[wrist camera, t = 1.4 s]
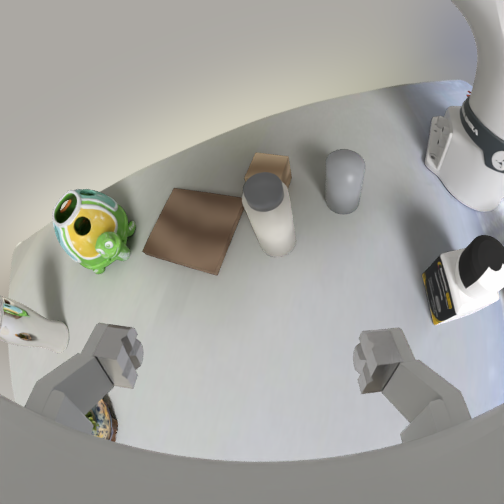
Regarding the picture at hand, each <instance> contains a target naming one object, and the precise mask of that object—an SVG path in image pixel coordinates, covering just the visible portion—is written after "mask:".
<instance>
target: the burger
mask: <svg viewBox="0 0 504 504" xmlns="http://www.w3.org/2000/svg"><path fill="white" fill-rule="evenodd" d="M85 416H86V418H87V419H88V420H89V421H90V422H92V424H93V429H92V433H91V435H93V436H96V437H100V438H103V439H106V440H110V441H113V442H115V440H116V438H115V434H117V432H116V430H117V427H118V422H117V420H115V419H114V418H112V416H111V413H110V410H109V408H108V405H107V404H106V403H105V401H104V400H103V399H101V400H100V401H99V402H98V403H97V404H96V405H95V406H94V407H93V408H92V409H91V410H90V411H89V412H88V413H87V414H86V415H85ZM117 431H118V430H117Z"/></svg>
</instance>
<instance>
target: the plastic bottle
mask: <svg viewBox="0 0 504 504" xmlns="http://www.w3.org/2000/svg"><path fill="white" fill-rule="evenodd" d="M242 203H243V206H244V208H245V211H246V213H247V215H248V218H249V220H250V222H251V225H252V227H253V229H254V232H255V234H256V236H257V239H258V241H259V244H260V246H261V248H262V250H263V251H264V252H265V253H266V254H267V255H269V256H272V257H283V256H285V255H287V254H289V253H290V252H291V251H292V250H293V249H294V247H295V245H296V234H295V227H294V221H293V215H292V209H291V203H290V197H289V191H288V188H287V186H286V185H285V184H284V183H283V182H282V181H281V180H280V178H279V177H278V176H277V175H275V174H273V173H269V172H261V173H257V174H255V175H253V176H251V177H250V178H249V179H248V180H247V181H246V182H245V184H244V187H243V194H242Z"/></svg>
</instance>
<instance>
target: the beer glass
mask: <svg viewBox="0 0 504 504" xmlns="http://www.w3.org/2000/svg"><path fill="white" fill-rule="evenodd" d="M0 340H2V341H4V342H7V343H10V344H13V345H17V346H24V347H41V348H46V349H48V350H50V351H52V352H54V353H57V354H60V353H62V352H64V351H65V349H66V348H67V345H68V341H69V332H68V328H67V326H66V324H65V323H63V322H61V321H55V320H49V319H47V318H45V317H43V316H41V315H40V314H38V313H37V312H35V311H34V310H32V309H31V308H29V307H27V306H26V305H24V304H22V303H20V302H17V301H15V300H12V299H9V298H6V297H3V296H0Z"/></svg>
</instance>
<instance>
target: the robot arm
mask: <svg viewBox="0 0 504 504" xmlns="http://www.w3.org/2000/svg"><path fill="white" fill-rule="evenodd" d="M451 1H452V2H453V3H454V4H455V5H456V7H457V8H458V9H459V10H460V12H461V13H462V14H463V16H464V17H465V19H466V20H467V22H468V24H469V26H470V28H471V30H472V32H473V35H474V38H475V42H476V46H477V54H478V62H477V69H476V75H475V80H474V85H473V88H472V92H470V91H468V92H469V93H471V95H467V97H468V98H467V99H466V100H465V101H464V102H463V105H462V106H450V107H448V108H447V110H446V113H445V116H444V117H442V116H436V117H433V118H432V120H431V126H430V133H429V140H428V146H427V152H426V158H425V165H426V166H427V168H428V169H430V170H431V171H432V172H433V173H434V174H436V175H437V176H438V177H439V178H440V180H441V181H442V182H443V184H444V185H445V187H446V188H447V189H448V191H449V192H450V193H451V194H452V195H453V196H454V197H455V198H456V199H457V200H459V201H460V202H461V203H463V204H464V205H466V206H468V207H469V208H472V209H474V210H477V211H481V212H489V211H493V210H494V209H496V208H497V207H498V206H499V204H500V202H501V200H502V199H503V198H504V0H451ZM137 335H138V334H137V332H136V330H135V328H132V327H125V326H118V325H112V324H105V323H98V324H97V325H96V326H95V328H94V330H93V331H92V333H91V335H90V337H89V339H88V341H87V343H86V345H85V346H84V348H83V350H82V352H81V354H80V353H77V354H76V355H74V356H73V357H71V358H70V359H69V360H67V361H66V362H64V363H63V364H61V365H60V366H58V367H57V368H56V369H54V370H53V371H51V372H50V373H48V374H47V375H45V376H44V377H43V378H41V379H40V380H38V381H37V382H36V384H35V386H34V388H33V390H32V392H31V394H30V396H29V398H28V400H27V403H26V405H25V407H23V406H21V405H19V404H17V403H15V402H13V401H11V400H10V399H8V398H6V397H4V396H2V395H1V394H0V504H504V403H503V404H501V405H499V406H497V407H495V408H493V409H491V410H489V411H487V412H485V413H483V414H481V415H479V416H477V417H474V418H472V419H471V416H470V413H469V411H468V408H467V406H466V403H465V401H464V398H463V396H462V394H461V391H459V390H458V389H457V388H455V387H454V386H453V385H451V384H450V383H449V382H448V381H446V380H445V379H444V378H442V377H441V376H440V375H438V374H437V373H436V372H434V371H433V370H432V369H430V368H429V367H428V366H427V365H425V364H424V363H423V362H421V361H420V360H415V357H414V355H413V353H412V351H411V348H410V346H409V344H408V342H407V340H406V338H405V335H404V333H403V331H402V329H400V328H390V329H379V330H369V331H363V332H362V333H361V334H360V337H359V340H360V343H359V344H358V345H357V346H356V347H355V350H354V355H353V362H354V368H355V370H356V371H357V372H358V373H359V374H360V376H359V378H358V383H359V387H360V391H361V394H366V393H374V392H382V394H383V395H384V396H385V397H386V398H387V399H388V400H389V401H390V402H391V403H392V404H393V405H394V406H395V407H396V409H397V410H398V411H399V412H400V413H401V414H402V415H403V416H404V417H405V418H406V419H407V420H408V421H409V422H410V424H409V425H408V426H407V427H406V428H405V429H404V430H403V431H402V432H401V434H400V435H401V439H402V443H401V444H397V445H394V446H390V447H385V448H381V449H377V450H372V451H367V452H362V453H356V454H350V455H344V456H337V457H330V458H321V459H311V460H298V461H277V462H245V461H224V460H211V459H201V458H193V457H185V456H178V455H172V454H166V453H160V452H155V451H150V450H145V449H141V448H136V447H132V446H128V445H124V444H120V443H117V442H113V441H110V440H106V439H103V438H100V437H96V436H93V435H91V433H92V429H93V424H92V422H90V421H89V420H88V419H87V418H86V416H85V415H86V414H87V413H88V412H89V411H90V410H91V409H92V408H93V407H94V406H95V405H96V404H97V403H98V402H99V401H100V400H101V399H102V398H103V397H104V396H105V395H106V394H107V393H108V392H109V391H110V390H111V389H112V388H113V387H114V386H119V387H124V388H131V389H133V388H134V385H135V382H136V379H137V376H138V374H137V372H136V369H137V368H139V367H140V366H141V364H142V361H143V346H142V344H141V342H140V341H139V340H137V339H136V337H137Z"/></svg>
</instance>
